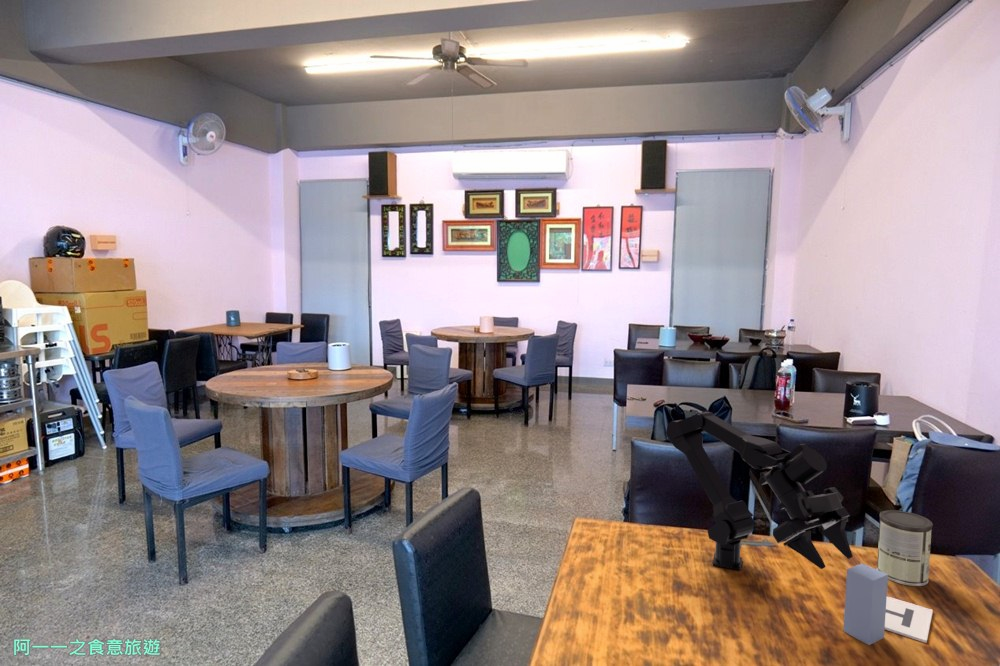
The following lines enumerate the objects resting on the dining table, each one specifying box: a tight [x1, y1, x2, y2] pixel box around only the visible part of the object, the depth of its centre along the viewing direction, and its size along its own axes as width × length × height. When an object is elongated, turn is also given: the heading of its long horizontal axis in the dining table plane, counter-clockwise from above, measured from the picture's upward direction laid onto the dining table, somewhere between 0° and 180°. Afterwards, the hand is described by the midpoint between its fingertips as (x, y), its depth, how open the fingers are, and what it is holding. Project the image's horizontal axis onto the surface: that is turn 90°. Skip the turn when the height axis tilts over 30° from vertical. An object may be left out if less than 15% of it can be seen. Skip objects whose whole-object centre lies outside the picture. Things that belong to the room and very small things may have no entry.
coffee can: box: [876, 509, 934, 587], centre depth 137 cm, size 10×10×14 cm
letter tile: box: [884, 595, 934, 644], centre depth 121 cm, size 14×14×1 cm
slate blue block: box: [842, 562, 889, 646], centre depth 114 cm, size 5×5×13 cm
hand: (837, 563), depth 118 cm, fingers open, 9 cm apart
